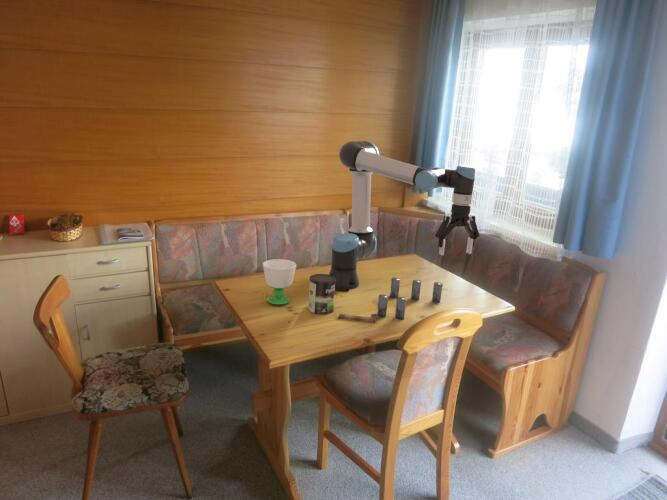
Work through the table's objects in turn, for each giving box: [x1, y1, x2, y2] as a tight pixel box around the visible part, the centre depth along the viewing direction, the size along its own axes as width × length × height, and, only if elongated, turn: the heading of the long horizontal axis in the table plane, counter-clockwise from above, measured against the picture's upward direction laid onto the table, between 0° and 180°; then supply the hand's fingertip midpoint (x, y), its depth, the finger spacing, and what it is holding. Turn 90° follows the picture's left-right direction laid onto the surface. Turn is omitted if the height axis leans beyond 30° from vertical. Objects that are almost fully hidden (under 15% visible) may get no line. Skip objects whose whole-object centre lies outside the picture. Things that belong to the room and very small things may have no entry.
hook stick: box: [338, 313, 377, 324], centre depth 187 cm, size 14×6×2 cm, turn 81°
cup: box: [262, 258, 297, 305], centre depth 199 cm, size 14×14×16 cm
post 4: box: [410, 279, 422, 301], centre depth 209 cm, size 4×4×9 cm
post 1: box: [376, 294, 389, 319], centre depth 189 cm, size 4×4×9 cm
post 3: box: [394, 296, 407, 321], centre depth 188 cm, size 4×4×9 cm
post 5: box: [431, 281, 444, 304], centre depth 208 cm, size 4×4×9 cm
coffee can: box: [307, 273, 336, 316], centre depth 190 cm, size 10×10×14 cm
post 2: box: [389, 276, 401, 299], centre depth 210 cm, size 4×4×9 cm
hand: (455, 253), depth 204 cm, fingers open, 13 cm apart
